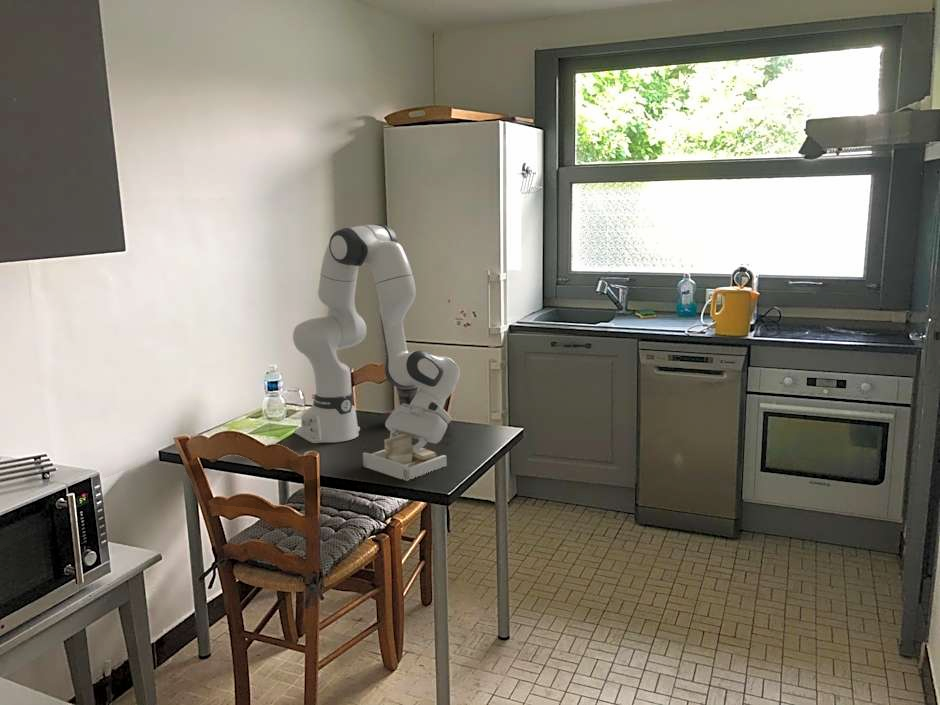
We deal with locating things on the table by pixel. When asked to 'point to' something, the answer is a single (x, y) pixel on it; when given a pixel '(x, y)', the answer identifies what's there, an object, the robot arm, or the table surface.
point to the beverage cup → (407, 394)
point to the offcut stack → (423, 456)
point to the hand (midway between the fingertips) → (401, 448)
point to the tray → (401, 465)
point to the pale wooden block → (399, 449)
